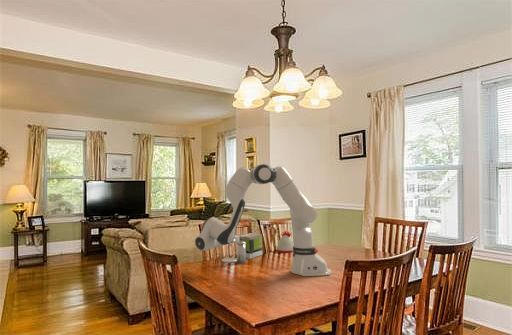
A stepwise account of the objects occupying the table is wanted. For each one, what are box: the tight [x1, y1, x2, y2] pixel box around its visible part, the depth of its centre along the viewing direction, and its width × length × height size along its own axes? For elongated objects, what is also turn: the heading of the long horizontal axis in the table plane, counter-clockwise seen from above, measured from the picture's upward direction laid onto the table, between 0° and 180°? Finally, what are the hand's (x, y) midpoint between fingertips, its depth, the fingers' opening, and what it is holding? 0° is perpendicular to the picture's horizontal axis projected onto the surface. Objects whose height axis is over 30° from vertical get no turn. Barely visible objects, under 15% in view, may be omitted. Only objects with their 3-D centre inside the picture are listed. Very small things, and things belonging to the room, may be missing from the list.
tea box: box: [238, 232, 263, 260], centre depth 237 cm, size 15×10×15 cm
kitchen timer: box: [276, 230, 294, 254], centre depth 254 cm, size 14×14×15 cm
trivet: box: [221, 257, 237, 264], centre depth 223 cm, size 11×11×1 cm
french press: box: [235, 238, 247, 265], centre depth 219 cm, size 8×6×16 cm
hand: (230, 236), depth 208 cm, fingers open, 8 cm apart
